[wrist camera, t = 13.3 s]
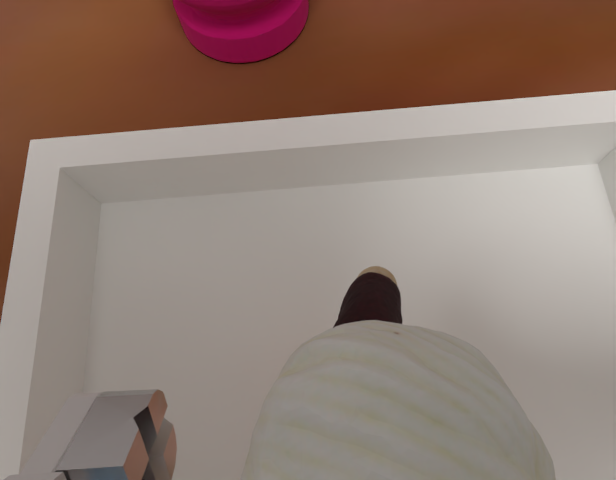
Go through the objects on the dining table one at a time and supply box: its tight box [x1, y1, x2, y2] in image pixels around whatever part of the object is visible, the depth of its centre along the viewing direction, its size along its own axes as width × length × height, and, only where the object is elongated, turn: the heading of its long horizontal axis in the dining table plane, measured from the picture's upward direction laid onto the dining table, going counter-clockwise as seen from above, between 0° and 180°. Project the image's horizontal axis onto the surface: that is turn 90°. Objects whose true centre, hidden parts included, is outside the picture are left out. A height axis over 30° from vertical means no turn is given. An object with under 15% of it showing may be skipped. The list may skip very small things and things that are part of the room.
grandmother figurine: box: [240, 266, 556, 480], centre depth 9 cm, size 8×4×13 cm, turn 7°
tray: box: [0, 90, 616, 480], centre depth 14 cm, size 22×20×4 cm
